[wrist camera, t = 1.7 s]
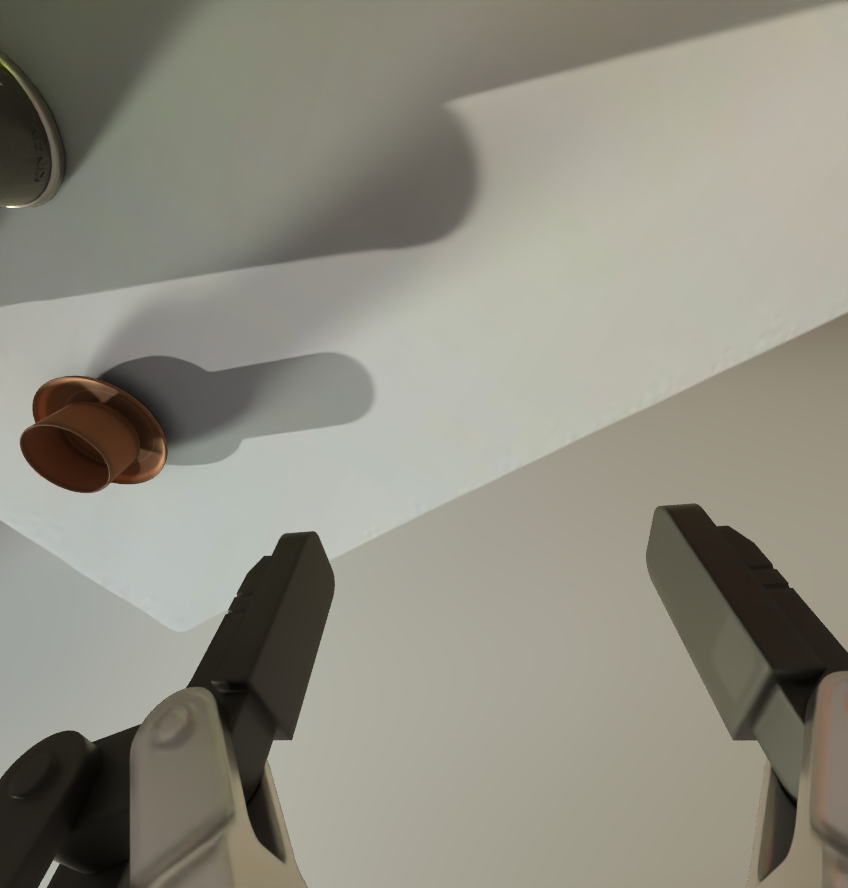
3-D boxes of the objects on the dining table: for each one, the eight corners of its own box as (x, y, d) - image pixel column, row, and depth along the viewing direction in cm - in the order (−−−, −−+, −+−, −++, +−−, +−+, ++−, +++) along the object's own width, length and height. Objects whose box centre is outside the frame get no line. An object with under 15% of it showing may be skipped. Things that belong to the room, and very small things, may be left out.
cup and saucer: (150, 491, 45) (111, 531, 40) (35, 426, 41) (-25, 462, 35) (196, 423, 40) (159, 459, 34) (70, 342, 36) (6, 369, 30)
